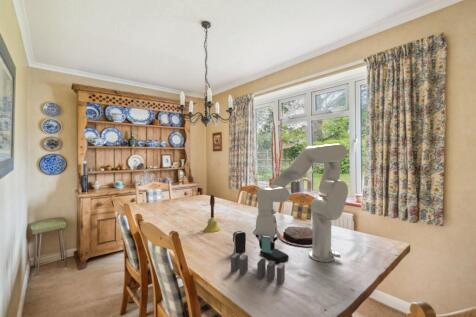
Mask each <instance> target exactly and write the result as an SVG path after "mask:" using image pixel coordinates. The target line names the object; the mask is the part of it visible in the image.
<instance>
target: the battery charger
mask: <svg viewBox="0 0 476 317" xmlns="http://www.w3.org/2000/svg"><path fill="white" fill-rule="evenodd" d="M246 237H247V234H246V232H245V231H243V230H238V231H234V232H233V234H232V242H233V247H234V248H233V254H235V253H239V254H241V253H244V252H246V243H247V242H246V241H247V238H246Z"/></svg>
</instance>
